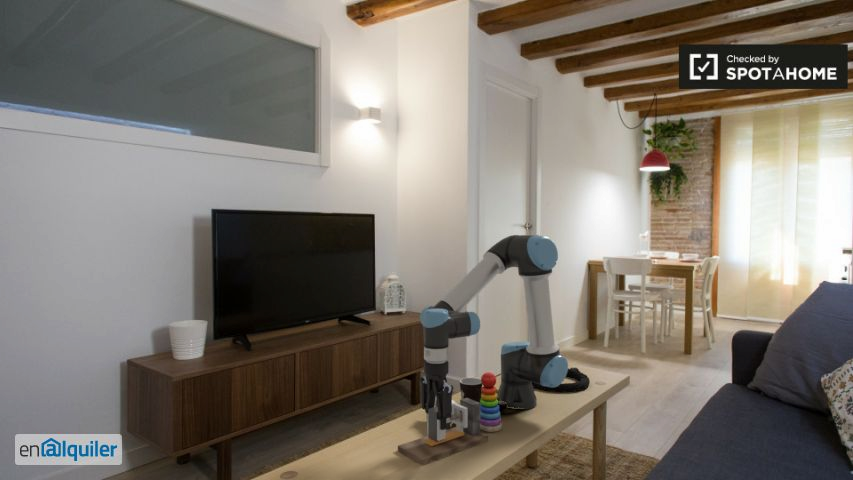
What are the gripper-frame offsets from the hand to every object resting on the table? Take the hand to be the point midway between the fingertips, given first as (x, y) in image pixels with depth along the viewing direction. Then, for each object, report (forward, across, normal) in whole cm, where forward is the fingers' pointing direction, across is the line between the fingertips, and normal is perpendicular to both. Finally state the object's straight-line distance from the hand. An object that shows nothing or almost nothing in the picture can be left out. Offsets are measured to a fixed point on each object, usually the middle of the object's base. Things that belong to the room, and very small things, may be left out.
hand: (436, 436), depth 155 cm
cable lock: (+4, -19, +83) cm, 85 cm away
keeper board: (+4, 0, +3) cm, 5 cm away
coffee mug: (+4, -18, +31) cm, 36 cm away
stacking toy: (+4, -1, +24) cm, 24 cm away
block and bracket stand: (+2, 0, +4) cm, 4 cm away
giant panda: (+4, -14, +15) cm, 21 cm away
